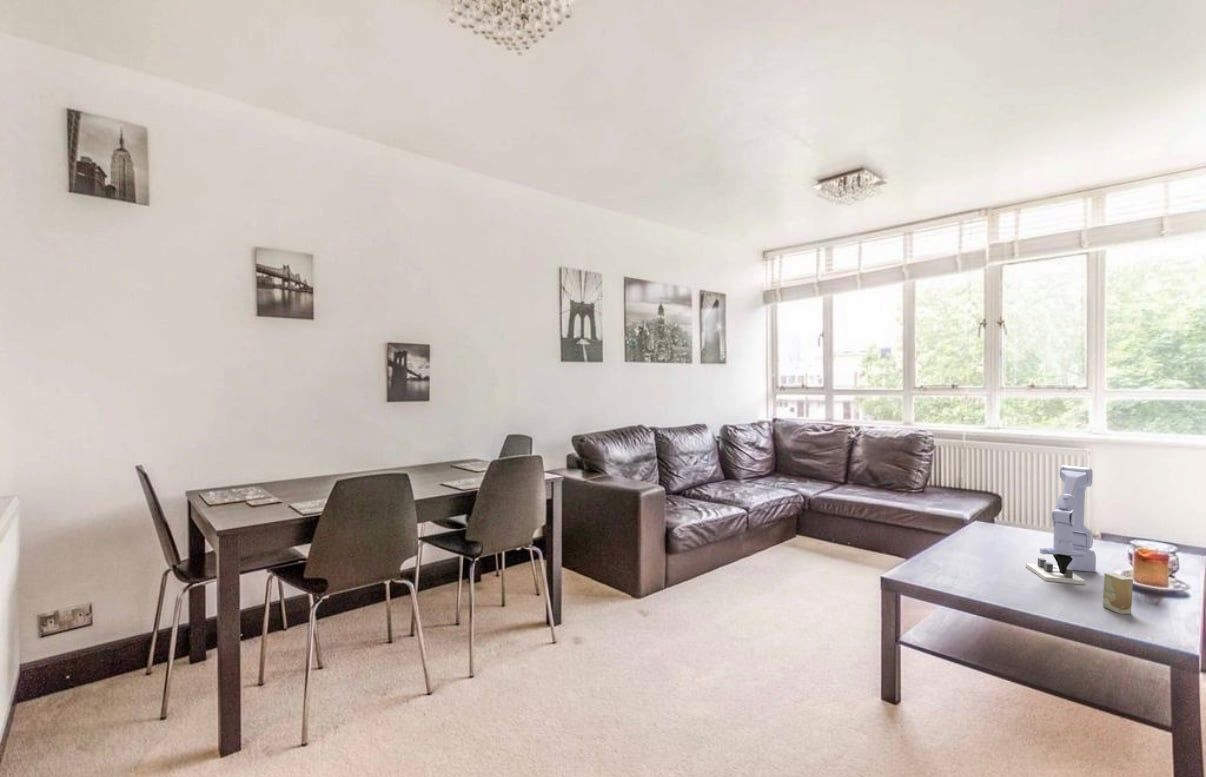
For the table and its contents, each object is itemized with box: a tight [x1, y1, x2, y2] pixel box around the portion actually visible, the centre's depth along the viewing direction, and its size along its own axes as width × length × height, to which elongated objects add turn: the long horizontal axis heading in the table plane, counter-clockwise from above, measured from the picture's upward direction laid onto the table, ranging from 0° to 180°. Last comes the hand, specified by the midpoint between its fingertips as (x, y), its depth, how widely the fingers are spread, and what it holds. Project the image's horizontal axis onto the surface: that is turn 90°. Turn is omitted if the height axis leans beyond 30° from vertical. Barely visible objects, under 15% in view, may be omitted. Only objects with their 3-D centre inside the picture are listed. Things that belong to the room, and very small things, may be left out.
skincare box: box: [1102, 572, 1134, 615], centre depth 186 cm, size 6×4×12 cm
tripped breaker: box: [1063, 568, 1074, 578], centre depth 214 cm, size 2×2×3 cm
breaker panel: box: [1025, 557, 1086, 585], centre depth 220 cm, size 13×17×5 cm
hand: (1062, 573), depth 214 cm, fingers closed
